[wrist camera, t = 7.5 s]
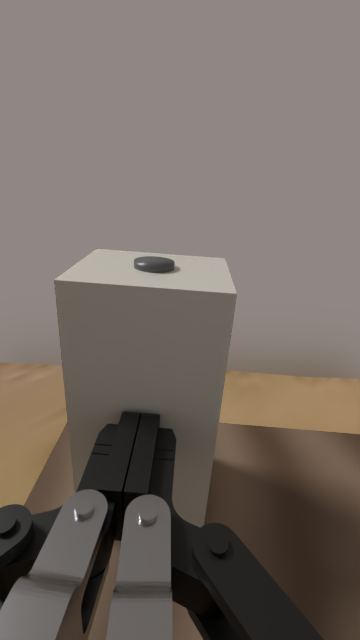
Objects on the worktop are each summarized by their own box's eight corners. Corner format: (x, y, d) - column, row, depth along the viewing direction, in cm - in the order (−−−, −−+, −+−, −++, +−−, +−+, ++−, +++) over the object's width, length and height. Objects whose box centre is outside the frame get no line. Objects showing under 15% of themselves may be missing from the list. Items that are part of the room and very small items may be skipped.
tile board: (-125, 829, 9) (-139, 816, 8) (74, 424, 24) (73, 410, 23) (851, 931, 9) (896, 924, 8) (437, 454, 23) (444, 441, 23)
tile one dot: (77, 521, 16) (53, 272, 11) (105, 440, 20) (97, 242, 15) (202, 532, 15) (237, 286, 11) (201, 448, 20) (224, 251, 15)
